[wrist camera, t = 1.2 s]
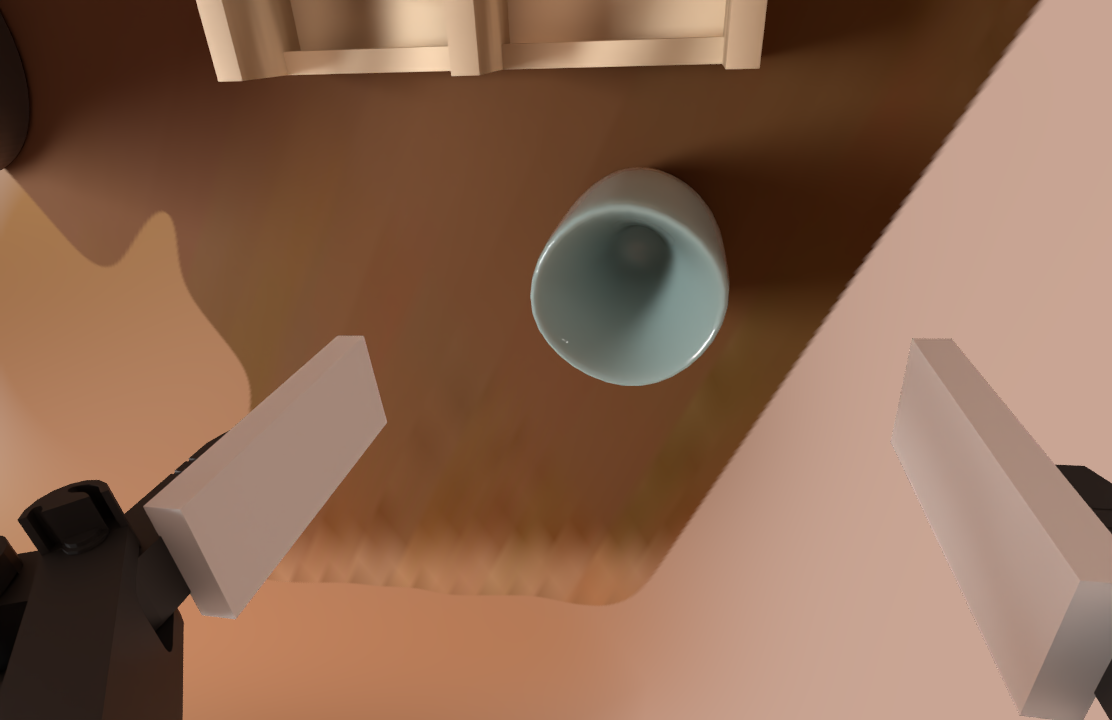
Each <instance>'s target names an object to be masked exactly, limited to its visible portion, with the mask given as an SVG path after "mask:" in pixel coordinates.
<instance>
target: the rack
mask: <svg viewBox="0 0 1112 720" xmlns="http://www.w3.org/2000/svg"><path fill="white" fill-rule="evenodd" d="M196 3H197V6H198V10H199V13H200V17H201V21H202V24H203V28H204V31H205V35H206V39H207V42H208V46H209V50H210V53H211V57H212V60H213V64H214V68H215V71H216V75H217V78H218V82H224V81H247V80H254V79H262V78H270V77H277V76H285V75H310V74H348V73H386V72H425V71H451V76H469V75H483V74H487V73H491V72H495V71H499V70H503V69H540V68H578V67H617V66H655V65H693V64H722V65H723V66H724V67H725V69H756V68H760V60H761V51H762V42H763V34H764V25H765V17H766V8H767V0H196Z"/></svg>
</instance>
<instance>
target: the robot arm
mask: <svg viewBox="0 0 1112 720" xmlns="http://www.w3.org/2000/svg"><path fill="white" fill-rule="evenodd" d="M28 123H29V97H28V89H27V83H26V78H25V74H24V70H23V66H22V63H21V60H20V57H19V54H18V51H17V48H16V46H15V43H14V40H13V38H12V36H11V34H10V31H9V29H8V27H7V25H6V23H5V21H4V19H3V17H2V15H1V13H0V170H2V169H4V168H5V167H6V166H8V165H9V164H10V163H11V162H12V161H13V160H14V159H15V158H16V156H17V155H18V153H19V152H20V150H21V148H22V146H23V144H24V141H25V138H26V134H27V130H28ZM386 423H387V421H386V417H385V413H384V409H383V406H382V402H381V398H380V395H379V391H378V387H377V383H376V380H375V376H374V372H373V369H372V365H371V361H370V357H369V354H368V350H367V346H366V343H365V339H364V336H337V337H336V338H335V339H333V340H332V341H331V342H330V343H329V344H328V345H327V346H325V347H324V348H323V349H322V350H321V351H320V352H319V353H317V354H316V355H315V356H314V357H313V358H312V359H311V360H309V361H308V362H307V363H306V364H305V365H304V366H303V367H301V368H300V369H299V370H298V371H297V372H296V373H295V374H293V375H292V376H291V377H290V378H289V379H288V380H287V381H285V382H284V383H283V384H282V385H281V386H280V387H279V388H278V389H276V390H275V391H274V392H273V393H272V394H271V395H270V396H268V397H267V398H266V399H265V400H264V401H263V402H262V403H260V404H259V405H258V406H257V407H256V408H255V409H254V410H252V411H251V412H250V413H249V414H248V415H247V416H246V417H244V419H242V420H241V421H240V422H239V423H238V424H237V425H235V426H234V427H233V428H232V429H231V430H229V431H228V432H226V433H224V434H222V435H220V436H219V437H217V438H215V439H213V440H211V441H210V442H208V443H206V444H205V445H204V446H203V447H202V448H200V449H199V450H198V451H197V452H196V453H195V454H194V455H192V456H191V457H190V458H189V461H188V462H187V461H186V462H184V463H183V464H182V465H181V466H180V467H179V468H177V469H176V470H175V473H174V474H170V475H169V476H168V477H167V478H166V479H165V480H163V481H162V482H161V483H160V484H159V485H158V486H156V487H155V488H154V489H153V490H152V491H151V492H149V493H148V494H147V495H146V496H145V497H144V498H142V499H141V500H140V501H139V502H138V503H137V504H136V505H134V506H133V507H132V508H131V509H130V510H129V511H127V512H126V513H125V514H124V513H123V511H122V509H121V508H120V506H119V504H118V502H117V501H116V499H115V497H114V495H113V493H112V492H111V490H110V488H109V486H108V485H107V483H105V482H102V481H100V480H86V481H81V482H78V483H73V484H69V485H67V486H65V487H62V488H59V489H57V490H54V491H52V492H50V493H49V494H47V495H45V496H43V497H42V498H40V499H38V500H37V501H35V502H34V503H33V504H32V505H30V506H29V507H28V508H27V509H26V510H24V512H23V513H22V514H21V516H20V517H19V519H18V521H19V523H20V524H21V525H22V527H23V529H24V530H25V532H26V533H27V535H28V536H29V538H30V539H31V541H32V542H33V543H34V545H35V546H36V548H37V549H38V551H34V552H27V553H21V554H17V553H16V552H15V550H14V549H13V548H12V546H11V545H10V543H9V542H8V540H7V539H6V538H5V537H3V536H0V720H182V715H183V714H182V713H183V627H184V622H183V619H182V616H181V614H180V612H179V610H178V606H179V605H180V604H181V603H182V602H183V601H184V600H185V599H186V597H187V596H188V595H189V594H191V596H192V597H193V600H194V602H195V603H196V605H197V607H198V609H199V611H200V612H201V614H202V615H205V616H214V617H222V618H230V619H236V618H237V617H238V615H239V614H240V613H241V612H242V611H243V609H244V608H245V607H246V605H247V604H248V603H249V601H250V600H251V599H252V598H253V596H254V595H255V594H256V592H257V591H258V590H259V588H260V587H261V586H262V585H263V583H264V582H265V581H266V579H267V578H268V577H269V575H270V574H271V573H272V572H273V570H274V569H275V568H276V566H277V565H278V564H279V562H280V561H281V560H282V558H283V557H284V556H285V555H286V553H287V552H288V551H289V549H290V548H291V547H292V545H293V544H294V543H295V542H296V540H297V539H298V538H299V536H300V535H301V534H302V532H303V531H304V530H305V529H306V527H307V526H308V525H309V523H310V522H311V521H312V519H313V518H314V517H315V516H316V514H317V513H318V512H319V510H320V509H321V508H322V506H323V505H324V504H325V503H326V501H327V500H328V499H329V497H330V496H331V495H332V493H333V492H334V491H335V490H336V488H337V487H338V486H339V484H340V483H341V482H342V480H343V479H344V478H345V477H346V475H347V474H348V473H349V471H350V470H351V469H352V467H353V466H354V465H355V464H356V462H357V461H358V460H359V458H360V457H361V456H362V454H363V453H364V452H365V450H366V449H367V448H368V447H369V445H370V444H371V443H372V441H373V440H374V439H375V437H376V436H377V435H378V434H379V432H380V431H381V430H382V428H383V427H384V426H385V424H386ZM891 443H892V446H893V448H894V449H895V452H896V454H897V456H898V458H899V460H900V463H901V465H902V467H903V469H904V471H905V473H906V475H907V477H908V480H909V482H910V484H911V486H912V488H913V490H914V492H915V494H916V496H917V499H918V501H919V503H920V505H921V507H922V509H923V511H924V513H925V516H926V518H927V520H928V522H929V524H930V526H931V528H932V530H933V532H934V535H935V537H936V539H937V541H938V543H939V545H940V547H941V549H942V552H943V554H944V556H945V558H946V560H947V562H948V564H949V566H950V568H951V571H952V573H953V575H954V577H955V579H956V581H957V583H958V586H959V588H960V590H961V592H962V594H963V596H964V598H965V600H966V603H967V605H968V607H969V609H970V611H971V613H972V615H973V617H974V620H975V622H976V624H977V626H978V628H979V630H980V632H981V634H982V637H983V639H984V641H985V643H986V645H987V647H988V649H989V651H990V653H991V656H992V658H993V660H994V662H995V664H996V666H997V668H998V670H999V672H1000V674H1001V676H1002V679H1003V681H1004V683H1005V685H1006V687H1007V690H1008V692H1009V694H1010V696H1011V698H1012V700H1013V702H1014V704H1015V707H1016V709H1017V711H1018V713H1019V715H1020V716H1028V717H1036V718H1044V719H1052V720H1083V719H1084V718H1085V716H1086V714H1087V712H1088V710H1089V708H1090V706H1091V704H1092V703H1093V701H1094V699H1095V697H1097V699H1098V701H1099V702H1100V704H1101V706H1102V707H1103V709H1104V711H1105V712H1106V714H1107V716H1108V718H1109V719H1110V720H1112V483H1110V482H1109V481H1107V480H1105V479H1104V478H1102V477H1101V476H1099V475H1098V474H1096V473H1095V472H1093V471H1092V470H1090V469H1088V468H1087V467H1085V466H1071V465H1055V464H1054V463H1053V462H1052V461H1051V459H1050V458H1049V457H1048V456H1047V455H1046V453H1045V452H1044V451H1043V450H1042V449H1041V447H1040V446H1039V445H1038V444H1037V443H1036V441H1035V440H1034V439H1033V438H1032V436H1031V435H1030V434H1029V433H1028V431H1027V430H1026V429H1025V428H1024V426H1023V425H1022V424H1021V423H1020V422H1019V420H1018V419H1017V418H1016V417H1015V416H1014V414H1013V413H1012V412H1011V411H1010V409H1009V408H1008V407H1007V406H1006V405H1005V403H1004V402H1003V401H1002V400H1001V398H1000V397H999V396H998V395H997V393H996V392H995V391H994V390H993V389H992V387H991V386H990V385H989V384H988V382H987V381H986V380H985V379H984V378H983V376H982V375H981V374H980V373H979V372H978V370H977V369H976V368H975V367H974V365H973V364H972V363H971V362H970V361H969V359H968V358H967V357H966V356H965V355H964V353H963V352H962V351H961V350H960V348H959V347H958V346H957V345H956V343H955V342H954V341H953V340H952V339H912V342H911V347H910V352H909V357H908V361H907V366H906V371H905V377H904V381H903V386H902V391H901V395H900V401H899V405H898V410H897V415H896V420H895V424H894V429H893V434H892V439H891Z"/></svg>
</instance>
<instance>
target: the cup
mask: <svg viewBox="0 0 1112 720" xmlns="http://www.w3.org/2000/svg"><path fill="white" fill-rule="evenodd" d="M530 297H531V306H532V313H533V316H534V318H535V321H536V324H537V326H538V329H539V330H540V332H541V333H542V335H543V336H544V338H545V340H546V341H547V343H548V344H549V345H550V346H551V347H552V348H553V349H554V350H555V351H556V352H557V353H558V354H559V356H561V357H562V358H563V359H565V360H566V361H567V362H568V363H570V364H571V365H572V366H573V367H575V368H577V369H579V370H580V371H582V372H584V373H586V374H587V375H589V376H592V377H594V378H597V379H600V380H602V381H605V382H609V383H614V384H618V385H623V386H642V385H648V384H653V383H658V382H660V381H663V380H665V379H668V378H670V377H673V376H675V375H676V374H678V373H679V372H681V371H683V370H684V369H686V368H687V367H689V366H690V365H691V364H692V363H693V362H694V361H696V360H697V359H698V358H699V357H700V356H701V355H702V354H703V353H704V352H705V350H706V349H707V348H708V347H709V345H710V344H711V343H712V342H713V340H714V339H715V337H716V335H717V333H718V331H719V329H720V327H721V326H722V323H723V321H724V317H725V314H726V311H727V307H728V302H729V272H728V265H727V259H726V254H725V249H724V245H723V240H722V236H721V232H720V229H719V226H718V224H717V222H716V220H715V218H714V216H713V214H712V212H711V210H710V208H709V207H708V206H707V204H706V203H705V202H704V200H703V199H702V198H701V197H700V195H699V194H698V193H697V192H696V191H695V190H693V189H692V188H691V187H690V186H689V185H688V184H687V183H685V182H683V181H682V180H680V179H679V178H677V177H675V176H674V175H671V174H669V173H666V172H663V171H661V170H658V169H652V168H646V167H633V168H626V169H622V170H619V171H616V172H613V173H611V174H609V175H607V176H606V177H604V178H602V179H601V180H599V181H597V182H596V183H595V184H593V185H592V186H591V187H590V188H589V189H588V190H587V191H585V192H584V193H583V194H582V195H581V196H580V197H579V198H578V199H577V200H576V202H575V203H574V204H573V205H572V207H571V208H570V209H569V210H568V212H567V213H566V214H565V215H564V217H563V218H562V220H561V221H560V222H559V224H558V225H557V227H556V228H555V230H554V231H553V233H552V234H551V236H550V238H549V240H548V242H547V243H546V245H545V247H544V249H543V251H542V252H541V254H540V256H539V259H538V261H537V264H536V268H535V271H534V274H533V277H532V286H531V295H530Z"/></svg>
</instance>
